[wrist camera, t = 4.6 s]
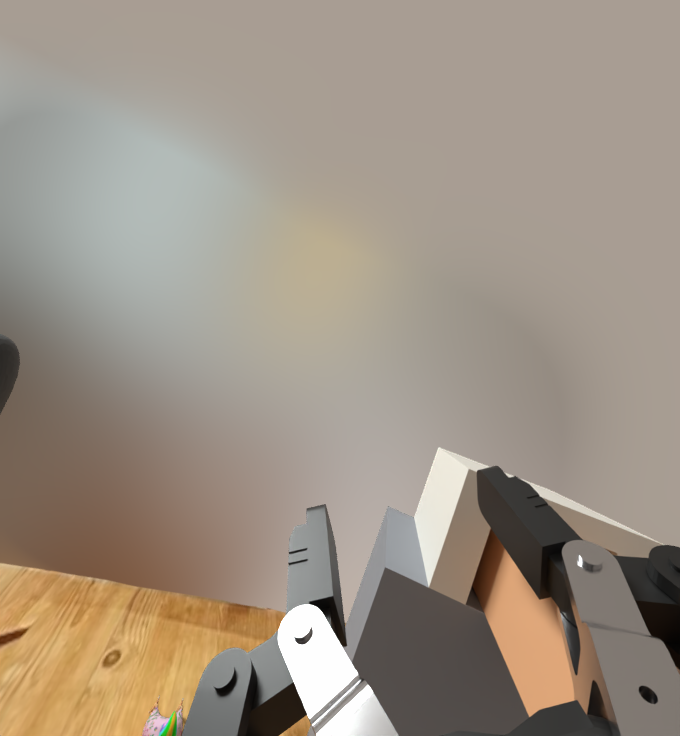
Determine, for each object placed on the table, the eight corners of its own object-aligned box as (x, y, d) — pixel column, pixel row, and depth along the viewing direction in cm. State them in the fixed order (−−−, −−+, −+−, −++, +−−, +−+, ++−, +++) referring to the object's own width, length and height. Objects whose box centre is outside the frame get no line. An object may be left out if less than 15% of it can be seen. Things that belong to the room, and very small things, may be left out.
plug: (615, 914, 6) (682, 741, 6) (433, 495, 28) (447, 456, 28) (857, 1042, 6) (932, 854, 6) (480, 514, 28) (494, 474, 27)
